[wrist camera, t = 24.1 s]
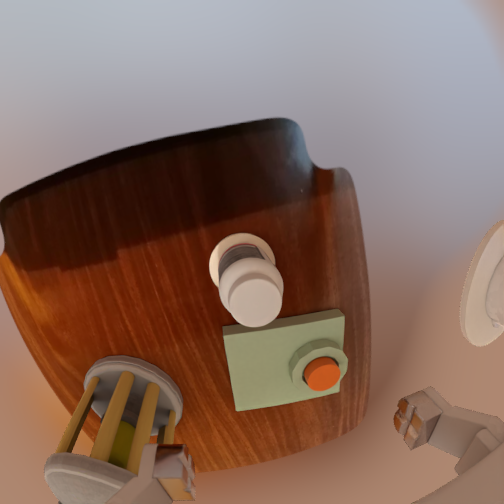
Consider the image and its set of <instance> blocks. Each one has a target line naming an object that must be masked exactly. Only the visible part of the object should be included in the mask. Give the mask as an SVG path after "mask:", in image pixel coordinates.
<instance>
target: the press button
mask: <svg viewBox="0 0 504 504" xmlns="http://www.w3.org/2000/svg"><path fill="white" fill-rule="evenodd" d="M340 374H341V372H340V369H339V367H338V366H337V364H336V363H335V361H334V360H333V359H332V358H330V357H318V358H316V359H314V360H312V361H311V362H310V363H309V364H308V365H307V366H306V368H305V370H304V377H305V379H306V382H307V384H308V386H309V387H310V388H311V389H312V390H314V391H324V390H327V389H330V388H331V387H333V386H334V385H335V384H336V383H337V382H338V380H339V378H340Z"/></svg>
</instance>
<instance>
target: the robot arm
mask: <svg viewBox="0 0 504 504" xmlns="http://www.w3.org/2000/svg"><path fill="white" fill-rule="evenodd" d="M486 312H487V315H488V316H489V318H491V320H492V325H493V327H495V328H498V327H499V326H500V325H501V326H503V327H504V255H503V257H502V259H501V260H500V262H499V263H498V265H497V267H496V269H495V271H494V273H493V275H492V278H491V281H490V284H489V287H488V292H487V297H486ZM398 407H399V409H398V411H397V412H396V413H395V415H394V425H395V427H396V430H397V431H398V433H400V434H403V435H404V441H405V443H406V444H407V445H408V447H409V448H410V449H411V450H412V449H414V448H417V447H419V446H421V445H423V444H425V443H427V442H428V444H430V445H432V446H434V447H436V448H438V449H441V450H443V451H445V452H447V453H449V454H452V455H454V456H456V457H458V458H461V459H460V460H459V462H458V463H457V464H456V466H455V471H456V472H457V473H458V475H459V476H458V477H456V478H455V479H453V480H452V481H450V482H448V483H447V484H446V485H444V486H442V487H440V488H439V489H437V490H435V491H434V492H432V493H430V494H428V495H426V496H425V497H423V498H421V499H419V500H417V501H415V502H413V503H411V504H504V422H503V421H501V420H500V419H499V418H498V417H496V416H492V415H488V414H484V413H480V412H476V411H472V410H468V409H464V408H460V407H457V406H455V407H452V406H451V405H450V404H449V403H448V402H447V401H446V400H445V399H444V398H443V397H442V396H441V395H440V394H439V393H438V392H437V391H436V390H435V389H434V388H433V387H431V386H430V387H428V388H426V389H423V390H421V391H418V392H416V393H414V394H411V395H409V396H407V397H404V398H402V399H401V400H400V401H399V403H398ZM194 478H195V466H194V462H193V458H192V456H191V455H189V454H188V447H187V445H186V444H147V443H145V445H144V446H143V450H142V456H141V461H140V466H139V472H138V477H133V478H132V479H131V480H130V481H129V482H128V483H127V484H126V485H124V486H123V487H122V488H121V489H120V490H119V491H118V492H117V493H116V494H114V495H113V496H112V497H111V498H110V499H109V500H108V501H106V502H105V503H104V504H172V502H173V501H186V500H187V501H189V500H195V485H194V483H193V481H192V480H193V479H194Z"/></svg>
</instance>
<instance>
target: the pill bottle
mask: <svg viewBox="0 0 504 504" xmlns="http://www.w3.org/2000/svg"><path fill="white" fill-rule="evenodd" d="M218 276H219V295H220V298H221V301H222V303H223V305H224V306H225V308H226V309H227V310H228V311H229V312H230V313H231V314H232V316H233V317H234V319H235V320H236V321H237V322H239V323H240V324H242V325H244V326H248V327H261V326H264V325H266V324H268V323H270V322H271V321H273V320H274V319H275V318H276V317H277V315H278V314H279V312H280V310H281V306H282V295H283V280H282V277H281V275H280V273H279V271H278V270H277V268H276V267H275V265H274V264H273V263H272V261H271V260H270V259H269V257H268V256H267V254H266V253H265V252H264V251H263V250H262V249H261V248H260V247H258V246H257V245H255V244H252V243H248V242H242V243H237V244H234V245H232V246H230V247H229V248H227V249H226V250H225V251H224V252H223V254H222V255H221V257H220V260H219V264H218Z"/></svg>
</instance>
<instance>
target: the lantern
mask: <svg viewBox="0 0 504 504" xmlns="http://www.w3.org/2000/svg"><path fill="white" fill-rule="evenodd" d="M84 390H85V392H84V394H83V396H82V398H81V400H80V402H79V404H78V406H77V408H76V410H75V412H74V414H73V416H72V418H71V420H70V422H69V424H68V426H67V428H66V430H65V432H64V435H63V437H62V439H61V441H60V443H59V445H58V448H57V450H56V452H55V453H54V454H52V455H51V456H50V457H49V458H48V459H47V461H46V464H45V467H44V473H45V480H46V482H47V483H48V485H49V487H50V488H51V490H52V492H53V493H54V494H55V496H56V497H57V499H58V500H59V502H58V504H104V503H105V502H106V501H108V500H109V499H110V498H111V497H112V496H113V495H114V494H116V493H117V492H118V491H119V490H120V489H121V488H122V487H123V486H124V485H126V484H127V483H128V482H129V481H130V480H131V479H132V478H133V477H138V472H139V466H140V461H141V456H142V450H143V446H144V445H145V443H147V444H149V441H150V436H153V435H158V437H157V444H173V438H174V429H175V426H176V425H177V423H178V422H179V420H180V419H181V417H182V407H183V398H182V395H181V393H180V390H179V387H178V386H177V385H176V384H175V382H174V381H173V380H172V379H171V377H170V376H169V375H167V374H166V373H165V372H163V371H162V370H161V369H159V368H158V367H157V366H155V365H153V364H150V363H148V362H146V361H144V360H142V359H139V358H134V357H129V356H124V355H120V356H108V357H105V358H103V359H100V360H98V361H96V362H95V363H94V365H93V366H92V367H91V368H90V369H89V371H88V372H87V374H86V377H85V381H84ZM91 407H92V409H93V410H94V411H95V412H96V413H97V414H98V415H99V416H100V417H101V426H100V429H99V432H98V434H97V437H96V440H95V443H94V446H93V448H92V451H91V454H90V457H88V456H85V455H79V454H73V453H71V452H72V450H73V447H74V445H75V442H76V440H77V438H78V435H79V433H80V430H81V428H82V426H83V424H84V421H85V419H86V417H87V414H88V412H89V410H90V408H91Z"/></svg>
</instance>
